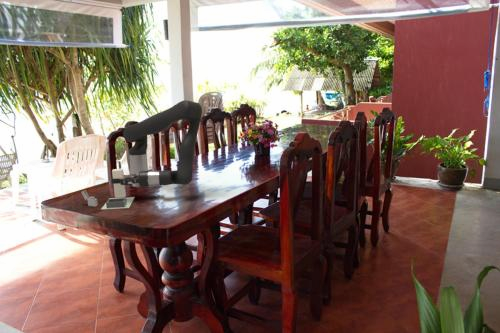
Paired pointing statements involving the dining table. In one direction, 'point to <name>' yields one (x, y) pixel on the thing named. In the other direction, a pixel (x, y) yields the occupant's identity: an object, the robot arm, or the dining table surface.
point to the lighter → (89, 199)
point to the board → (118, 203)
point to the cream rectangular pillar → (118, 188)
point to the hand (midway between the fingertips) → (112, 180)
